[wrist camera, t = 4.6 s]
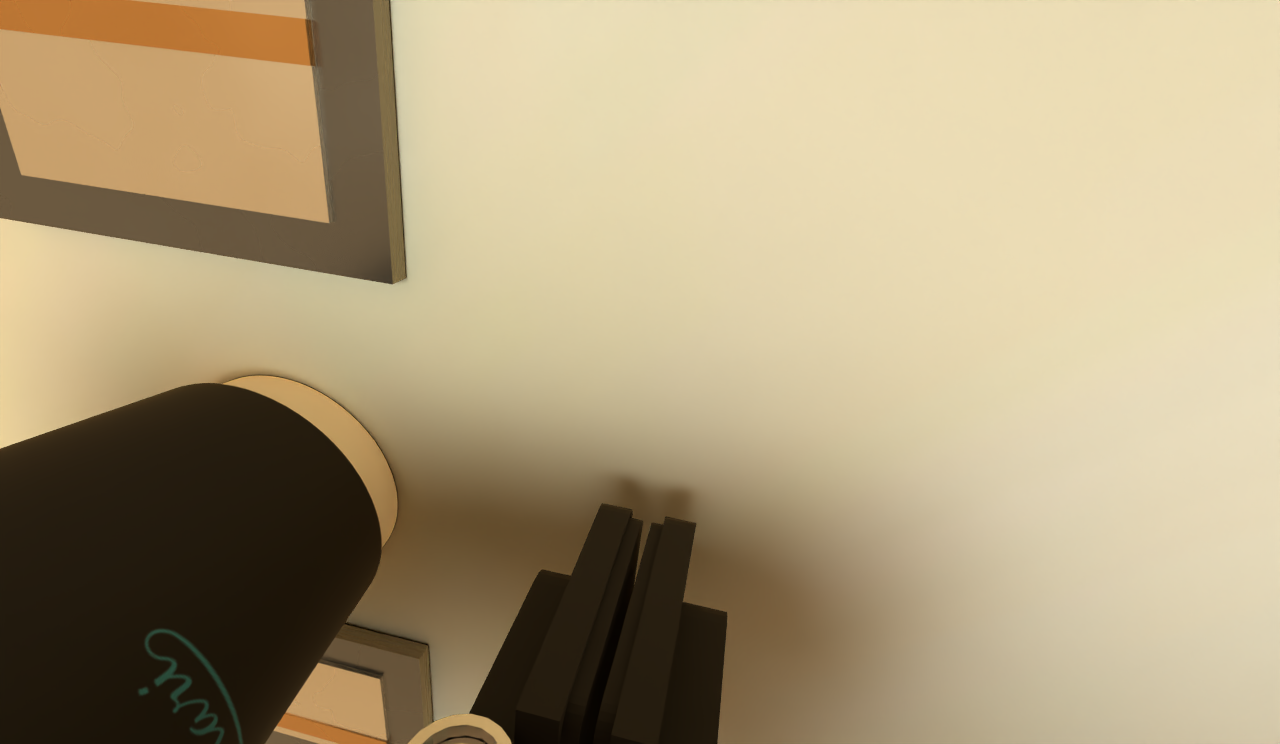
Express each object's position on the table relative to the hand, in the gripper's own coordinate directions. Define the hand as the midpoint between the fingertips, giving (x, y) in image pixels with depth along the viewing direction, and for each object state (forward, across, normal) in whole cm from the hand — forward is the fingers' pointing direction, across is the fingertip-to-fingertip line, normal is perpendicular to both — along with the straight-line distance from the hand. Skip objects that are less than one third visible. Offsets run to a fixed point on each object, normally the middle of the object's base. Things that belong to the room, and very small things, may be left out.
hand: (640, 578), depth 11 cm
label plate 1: (+1, +9, -7) cm, 11 cm away
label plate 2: (+1, +9, +7) cm, 12 cm away
